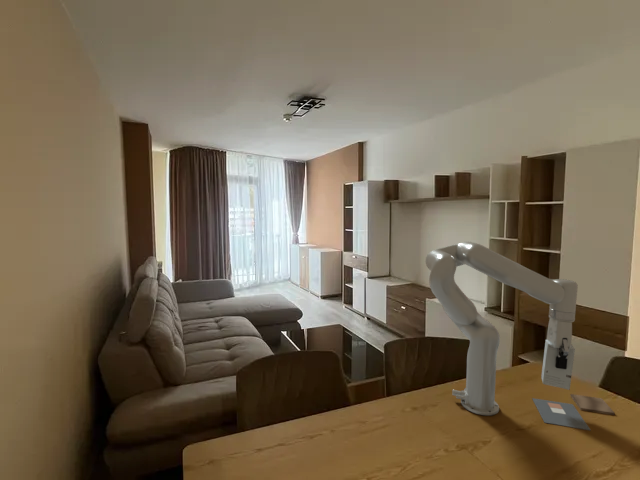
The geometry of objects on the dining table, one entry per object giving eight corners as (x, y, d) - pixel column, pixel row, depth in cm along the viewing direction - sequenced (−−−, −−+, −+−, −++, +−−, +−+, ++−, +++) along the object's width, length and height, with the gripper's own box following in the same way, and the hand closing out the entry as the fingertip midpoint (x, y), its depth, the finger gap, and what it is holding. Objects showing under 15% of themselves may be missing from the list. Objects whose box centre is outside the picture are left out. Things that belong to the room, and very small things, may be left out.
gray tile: (544, 422, 117) (544, 422, 117) (532, 398, 132) (532, 398, 132) (590, 430, 113) (590, 429, 113) (572, 404, 128) (572, 404, 128)
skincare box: (542, 384, 124) (546, 343, 122) (540, 377, 129) (544, 338, 128) (571, 390, 120) (575, 348, 119) (568, 383, 125) (572, 343, 124)
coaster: (580, 409, 125) (580, 407, 124) (570, 395, 134) (570, 393, 134) (614, 415, 121) (614, 413, 121) (601, 400, 131) (601, 398, 131)
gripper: (542, 307, 132) (538, 353, 133) (557, 320, 115) (552, 372, 117) (565, 309, 129) (561, 356, 131) (584, 323, 113) (579, 376, 115)
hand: (557, 363), depth 124 cm, fingers closed on skincare box, 6 cm apart
